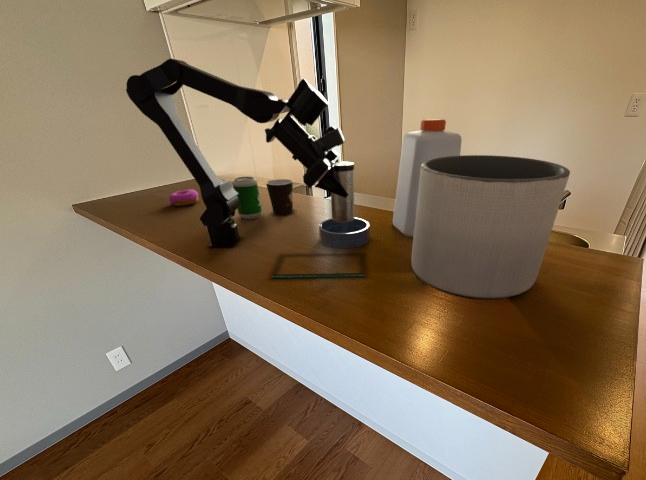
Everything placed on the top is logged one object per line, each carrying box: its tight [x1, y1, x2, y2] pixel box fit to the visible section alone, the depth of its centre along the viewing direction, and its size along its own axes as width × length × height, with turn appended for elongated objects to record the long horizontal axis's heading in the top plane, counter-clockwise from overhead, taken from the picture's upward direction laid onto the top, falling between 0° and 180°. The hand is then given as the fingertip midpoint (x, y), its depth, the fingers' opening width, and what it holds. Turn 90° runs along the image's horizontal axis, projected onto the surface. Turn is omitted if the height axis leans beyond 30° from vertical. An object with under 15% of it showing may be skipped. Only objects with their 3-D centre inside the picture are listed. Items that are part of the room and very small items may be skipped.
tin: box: [330, 161, 355, 222], centre depth 77 cm, size 6×6×13 cm
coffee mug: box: [265, 178, 294, 216], centre depth 108 cm, size 12×9×10 cm
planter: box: [410, 154, 571, 301], centre depth 64 cm, size 25×25×22 cm
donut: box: [168, 188, 200, 207], centre depth 119 cm, size 10×10×5 cm
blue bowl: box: [318, 217, 370, 250], centre depth 85 cm, size 13×13×4 cm
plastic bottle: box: [392, 118, 463, 238], centre depth 86 cm, size 15×15×28 cm
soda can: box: [231, 176, 263, 220], centre depth 103 cm, size 8×8×12 cm
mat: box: [271, 272, 365, 280], centre depth 74 cm, size 20×12×1 cm, turn 90°
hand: (348, 193), depth 77 cm, fingers closed on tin, 5 cm apart
